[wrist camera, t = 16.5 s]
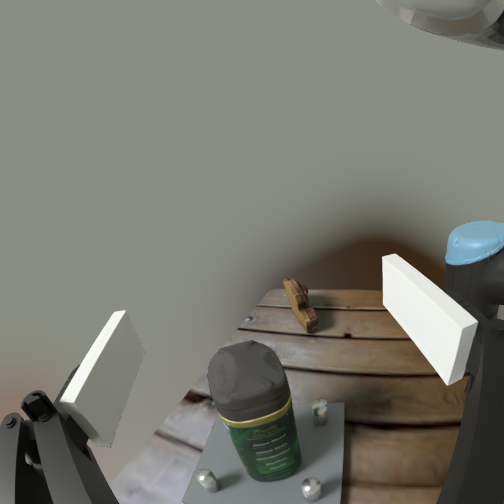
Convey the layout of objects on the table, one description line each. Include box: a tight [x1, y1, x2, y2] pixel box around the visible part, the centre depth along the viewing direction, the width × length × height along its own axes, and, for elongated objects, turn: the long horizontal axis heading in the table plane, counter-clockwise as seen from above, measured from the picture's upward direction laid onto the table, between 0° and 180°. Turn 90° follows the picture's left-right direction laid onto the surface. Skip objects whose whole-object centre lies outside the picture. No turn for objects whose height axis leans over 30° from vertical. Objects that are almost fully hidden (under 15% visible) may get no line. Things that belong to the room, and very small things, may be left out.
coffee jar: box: [207, 340, 302, 482], centre depth 31 cm, size 10×8×19 cm
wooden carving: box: [283, 278, 318, 333], centre depth 65 cm, size 16×5×10 cm, turn 15°
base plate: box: [182, 399, 344, 504], centre depth 33 cm, size 20×20×6 cm
